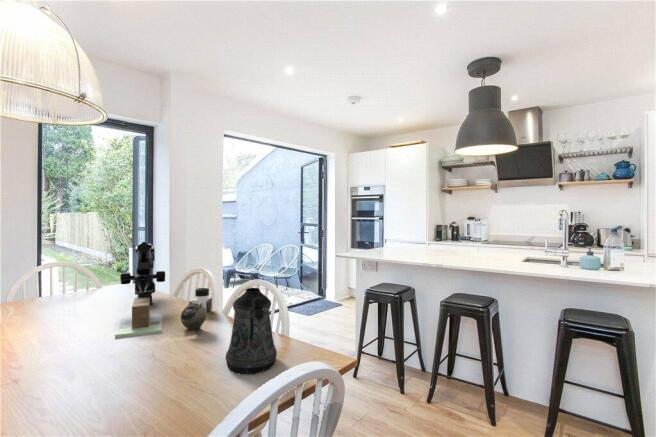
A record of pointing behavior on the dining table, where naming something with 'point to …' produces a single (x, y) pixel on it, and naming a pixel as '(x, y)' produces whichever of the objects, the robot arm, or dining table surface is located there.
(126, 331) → the trap board
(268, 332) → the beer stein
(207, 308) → the medicine bottle
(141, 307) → the walnut box
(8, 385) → the dining table surface
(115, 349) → the dining table surface
